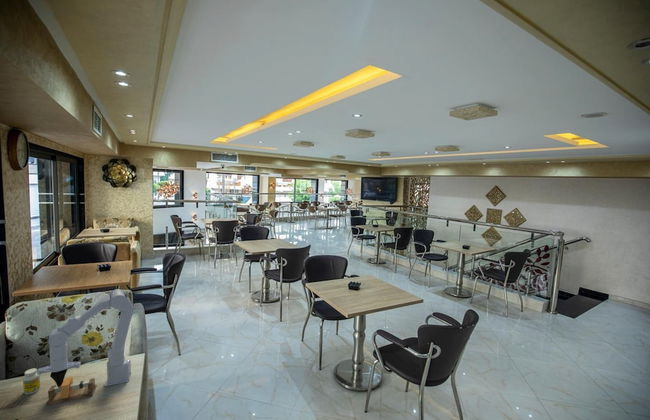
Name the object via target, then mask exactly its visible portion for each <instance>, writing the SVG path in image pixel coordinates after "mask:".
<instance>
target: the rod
mask: <svg viewBox="0 0 650 420" xmlns="http://www.w3.org/2000/svg"><path fill="white" fill-rule="evenodd" d="M89 381H90V379H89V380H81V381H78V382H73V383H72V384H70V385H69V390H73V389H78V388H79V389H82V388H83V387H88V383H89ZM93 384H94V381H93ZM57 392H61V387H58V386H57V385H56V387H55V388H54V393H57Z"/></svg>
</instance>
